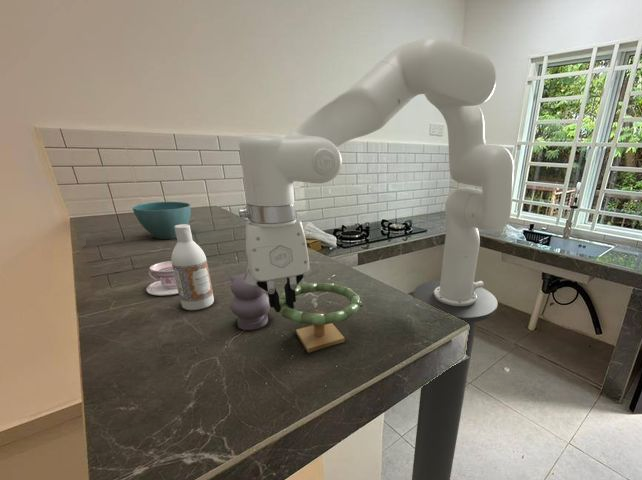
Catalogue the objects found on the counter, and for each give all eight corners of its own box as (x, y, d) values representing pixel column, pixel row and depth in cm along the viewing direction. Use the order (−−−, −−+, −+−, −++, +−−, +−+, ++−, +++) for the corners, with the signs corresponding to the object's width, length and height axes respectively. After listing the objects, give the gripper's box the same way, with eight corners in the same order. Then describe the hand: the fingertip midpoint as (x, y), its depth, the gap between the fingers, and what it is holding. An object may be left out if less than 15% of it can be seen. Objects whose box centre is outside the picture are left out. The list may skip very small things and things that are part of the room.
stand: (330, 324, 75) (329, 301, 73) (344, 341, 69) (344, 317, 67) (296, 333, 71) (293, 309, 69) (307, 352, 65) (306, 327, 62)
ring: (340, 285, 78) (340, 277, 77) (373, 316, 65) (374, 307, 65) (268, 296, 69) (267, 287, 68) (290, 334, 56) (290, 324, 56)
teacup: (201, 276, 96) (197, 256, 93) (197, 292, 86) (192, 271, 83) (151, 281, 91) (146, 260, 88) (141, 299, 81) (135, 277, 79)
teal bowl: (134, 235, 128) (126, 204, 123) (186, 228, 141) (180, 199, 136) (149, 246, 117) (140, 212, 112) (203, 237, 130) (197, 206, 125)
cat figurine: (279, 316, 77) (274, 269, 72) (261, 334, 70) (254, 283, 65) (246, 311, 78) (240, 265, 74) (225, 328, 71) (216, 278, 66)
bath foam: (194, 313, 76) (176, 231, 68) (175, 306, 79) (156, 226, 71) (220, 302, 82) (206, 225, 74) (202, 295, 84) (187, 220, 77)
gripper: (223, 222, 49) (242, 327, 56) (324, 214, 57) (329, 306, 64) (218, 212, 54) (235, 308, 62) (310, 206, 62) (316, 291, 70)
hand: (283, 306), depth 63 cm, fingers closed on ring, 2 cm apart
